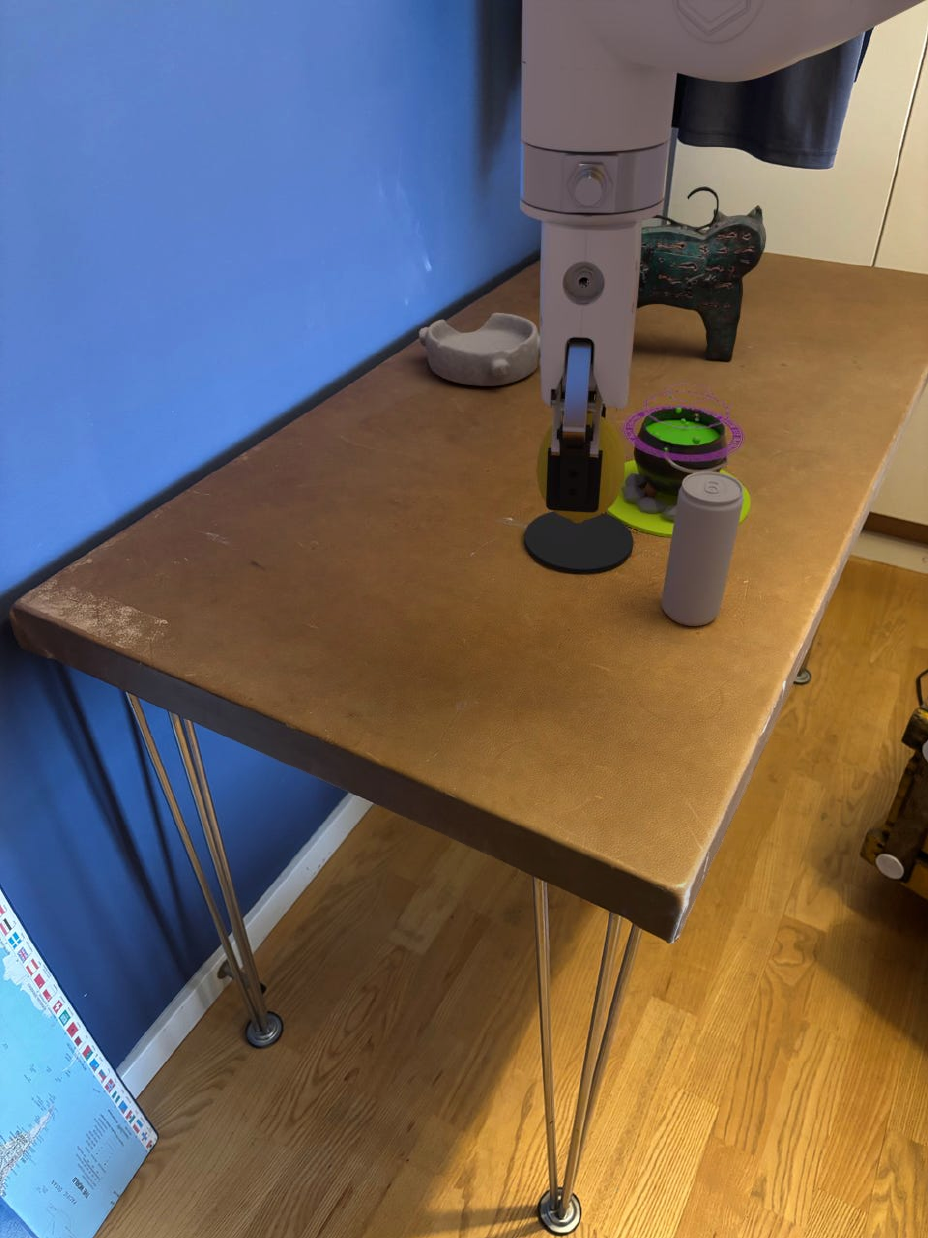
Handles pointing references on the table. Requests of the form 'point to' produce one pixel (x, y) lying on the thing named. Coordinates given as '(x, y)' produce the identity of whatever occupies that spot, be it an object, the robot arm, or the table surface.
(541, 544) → the disc
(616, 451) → the lemon
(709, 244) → the ceramic cat
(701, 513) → the beverage can
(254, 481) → the table surface
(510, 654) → the table surface
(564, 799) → the table surface
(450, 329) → the dish
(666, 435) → the toy cauldron
